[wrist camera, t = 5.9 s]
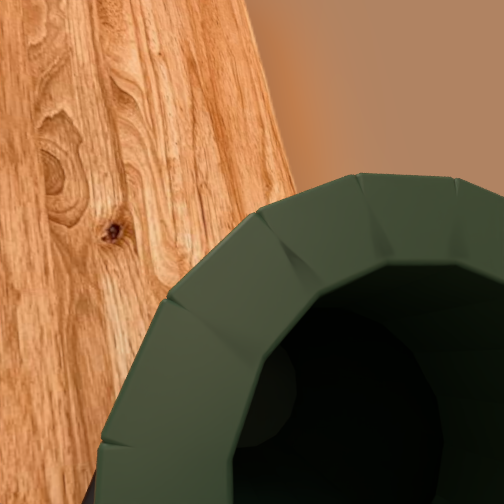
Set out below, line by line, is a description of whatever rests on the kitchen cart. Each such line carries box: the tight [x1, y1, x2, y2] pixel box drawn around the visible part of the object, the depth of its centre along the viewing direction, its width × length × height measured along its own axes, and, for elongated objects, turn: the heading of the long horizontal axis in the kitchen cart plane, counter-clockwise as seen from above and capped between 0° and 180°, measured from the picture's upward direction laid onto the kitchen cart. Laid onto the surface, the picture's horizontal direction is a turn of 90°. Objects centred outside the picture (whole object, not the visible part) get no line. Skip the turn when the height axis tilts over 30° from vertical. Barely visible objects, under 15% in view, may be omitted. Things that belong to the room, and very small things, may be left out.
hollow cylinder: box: [94, 173, 504, 504], centre depth 10 cm, size 6×6×14 cm
